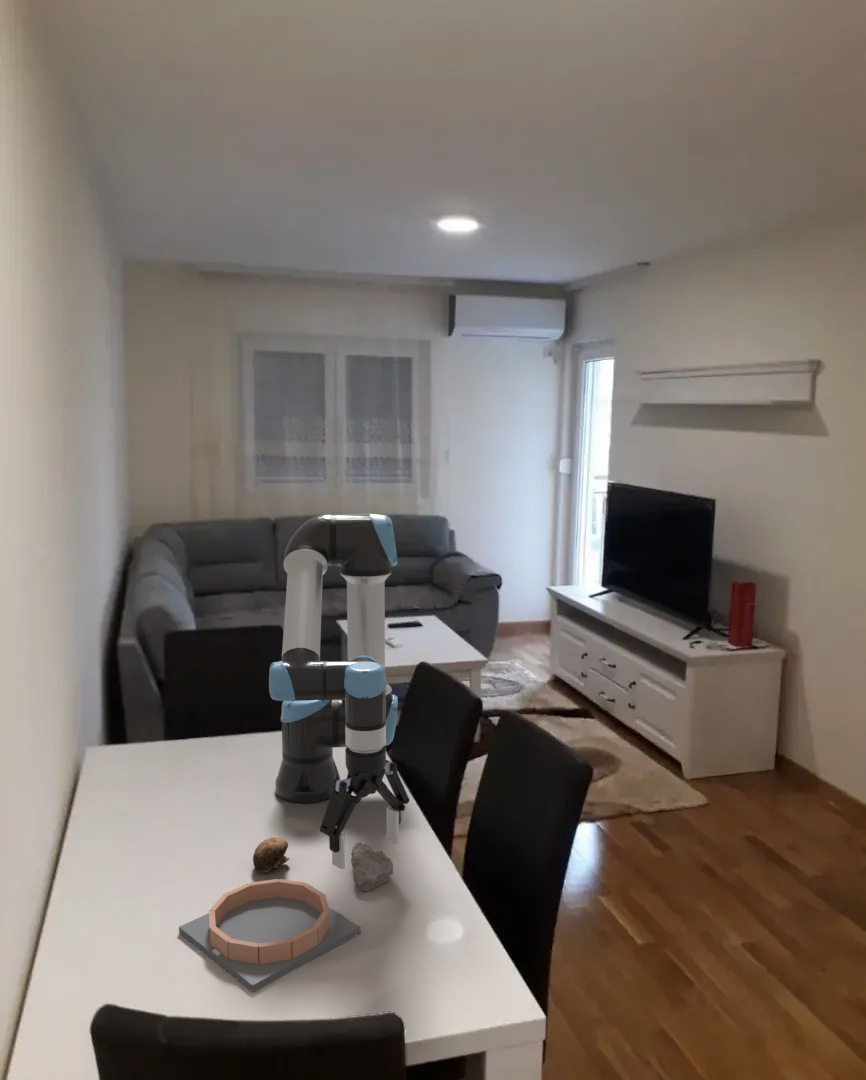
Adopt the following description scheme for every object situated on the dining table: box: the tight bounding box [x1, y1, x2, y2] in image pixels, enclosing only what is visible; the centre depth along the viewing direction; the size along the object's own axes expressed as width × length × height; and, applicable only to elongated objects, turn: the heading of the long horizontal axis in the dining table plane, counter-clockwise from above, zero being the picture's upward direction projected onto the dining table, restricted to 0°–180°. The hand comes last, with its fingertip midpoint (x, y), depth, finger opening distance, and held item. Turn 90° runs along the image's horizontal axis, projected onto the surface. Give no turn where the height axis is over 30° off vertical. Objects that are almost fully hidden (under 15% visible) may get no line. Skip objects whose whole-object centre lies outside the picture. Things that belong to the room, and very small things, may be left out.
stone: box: [350, 841, 394, 892], centre depth 174 cm, size 10×8×6 cm
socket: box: [178, 878, 361, 993], centre depth 156 cm, size 22×22×4 cm
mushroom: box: [252, 837, 291, 874], centre depth 178 cm, size 8×8×6 cm
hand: (366, 853), depth 172 cm, fingers open, 13 cm apart
